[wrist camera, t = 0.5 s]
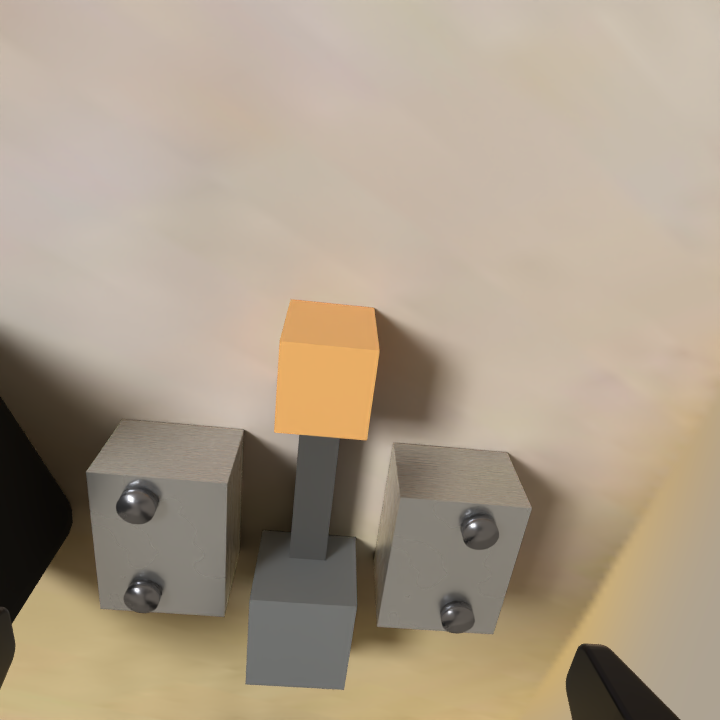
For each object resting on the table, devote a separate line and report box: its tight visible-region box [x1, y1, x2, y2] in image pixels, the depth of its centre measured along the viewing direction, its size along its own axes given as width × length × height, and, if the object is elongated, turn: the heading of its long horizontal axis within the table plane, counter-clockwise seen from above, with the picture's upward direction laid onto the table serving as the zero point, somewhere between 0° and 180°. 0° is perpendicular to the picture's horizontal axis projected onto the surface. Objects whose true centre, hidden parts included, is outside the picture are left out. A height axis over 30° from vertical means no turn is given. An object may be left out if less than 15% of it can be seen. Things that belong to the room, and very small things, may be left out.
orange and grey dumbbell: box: [246, 299, 380, 690], centre depth 21 cm, size 16×4×4 cm, turn 173°
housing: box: [86, 419, 532, 634], centre depth 21 cm, size 6×14×4 cm, turn 83°
